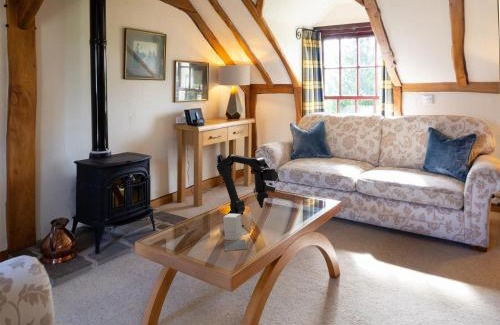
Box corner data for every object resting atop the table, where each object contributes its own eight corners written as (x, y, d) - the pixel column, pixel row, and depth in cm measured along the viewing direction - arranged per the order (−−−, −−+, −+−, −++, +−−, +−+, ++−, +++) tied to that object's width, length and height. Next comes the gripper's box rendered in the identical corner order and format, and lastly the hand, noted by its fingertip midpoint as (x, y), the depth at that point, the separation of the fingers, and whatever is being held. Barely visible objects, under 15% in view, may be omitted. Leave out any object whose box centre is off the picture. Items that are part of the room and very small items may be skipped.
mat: (223, 242, 210) (223, 241, 210) (244, 240, 211) (244, 239, 211) (224, 251, 196) (224, 250, 196) (247, 249, 197) (247, 248, 197)
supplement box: (243, 236, 218) (241, 213, 216) (236, 240, 211) (235, 217, 210) (230, 235, 221) (229, 213, 219) (224, 239, 214) (222, 216, 213)
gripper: (276, 182, 214) (278, 210, 216) (271, 176, 232) (273, 202, 234) (256, 183, 213) (257, 212, 215) (252, 178, 231) (254, 204, 233)
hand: (261, 207), depth 224 cm, fingers closed
